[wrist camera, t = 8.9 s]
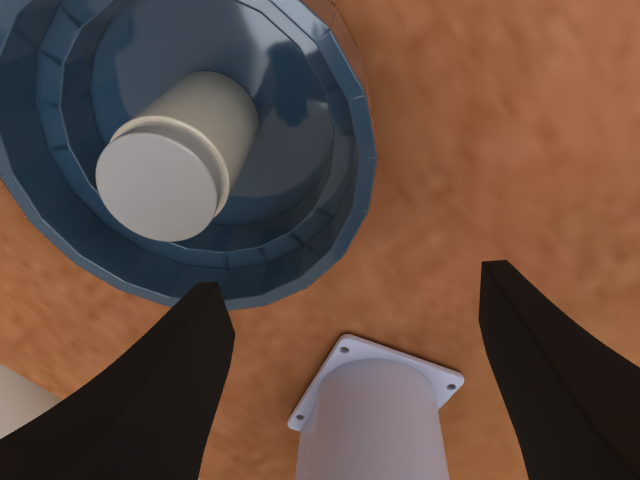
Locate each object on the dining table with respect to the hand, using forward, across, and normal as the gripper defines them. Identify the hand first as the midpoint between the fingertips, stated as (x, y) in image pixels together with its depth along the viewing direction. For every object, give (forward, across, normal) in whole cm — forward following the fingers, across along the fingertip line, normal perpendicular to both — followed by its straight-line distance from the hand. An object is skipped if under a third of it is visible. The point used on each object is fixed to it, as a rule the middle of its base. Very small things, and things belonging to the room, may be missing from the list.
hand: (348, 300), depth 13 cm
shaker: (+9, +6, -3) cm, 11 cm away
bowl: (+9, +6, -3) cm, 11 cm away
